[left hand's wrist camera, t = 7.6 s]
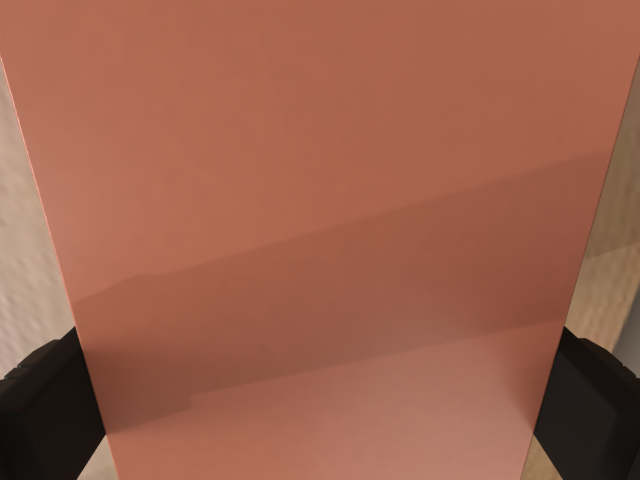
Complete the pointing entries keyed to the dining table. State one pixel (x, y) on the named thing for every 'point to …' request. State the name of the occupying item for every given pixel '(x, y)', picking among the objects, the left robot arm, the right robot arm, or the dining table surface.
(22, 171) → the dining table surface
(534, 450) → the dining table surface
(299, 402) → the cabinet
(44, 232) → the dining table surface
